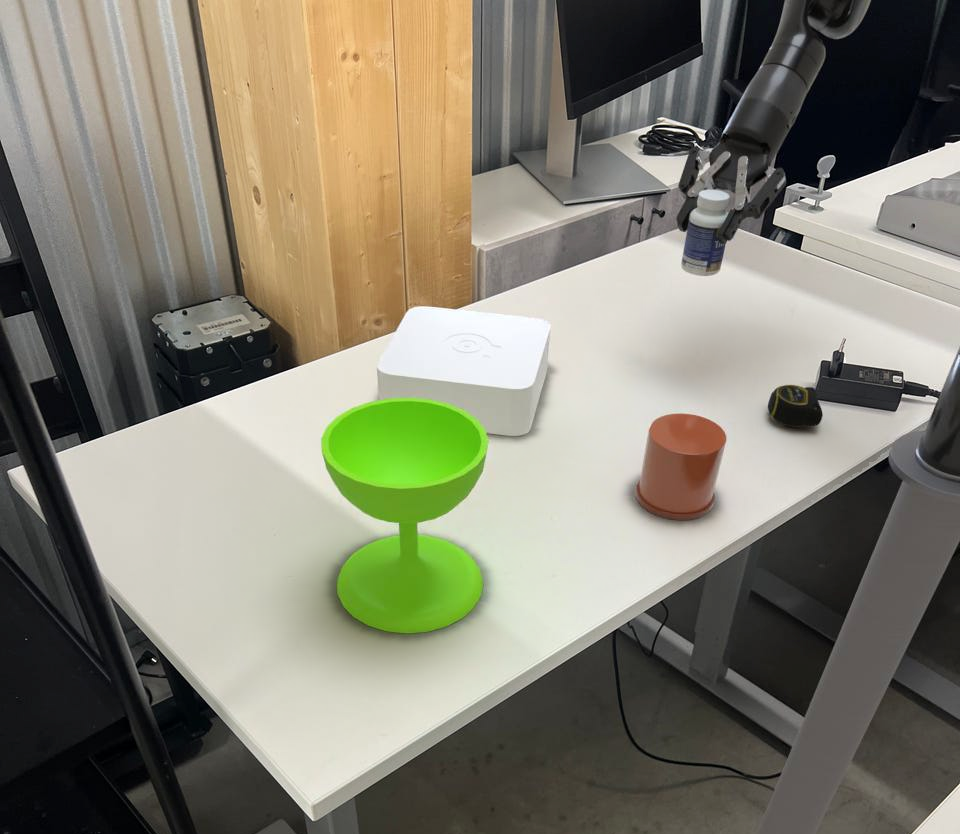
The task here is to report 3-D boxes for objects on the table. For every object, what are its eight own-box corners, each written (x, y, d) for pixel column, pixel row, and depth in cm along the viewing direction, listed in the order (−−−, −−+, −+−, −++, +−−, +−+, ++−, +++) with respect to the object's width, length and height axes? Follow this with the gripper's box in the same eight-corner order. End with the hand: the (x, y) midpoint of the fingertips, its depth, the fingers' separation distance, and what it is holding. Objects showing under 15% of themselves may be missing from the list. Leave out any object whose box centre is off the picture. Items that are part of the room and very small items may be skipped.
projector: (550, 359, 138) (554, 315, 133) (528, 438, 122) (531, 391, 117) (414, 344, 140) (413, 300, 136) (375, 419, 125) (372, 372, 120)
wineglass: (413, 520, 109) (409, 381, 96) (513, 583, 101) (523, 441, 88) (306, 582, 100) (286, 438, 88) (406, 656, 92) (400, 510, 80)
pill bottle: (714, 280, 124) (730, 204, 117) (676, 272, 125) (688, 197, 118) (724, 266, 127) (739, 191, 120) (686, 258, 129) (699, 184, 122)
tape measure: (818, 434, 125) (826, 410, 122) (767, 429, 125) (774, 405, 123) (812, 408, 130) (819, 384, 127) (763, 404, 130) (769, 380, 128)
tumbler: (729, 505, 113) (746, 441, 106) (669, 529, 109) (683, 464, 102) (678, 467, 118) (691, 404, 112) (619, 488, 114) (629, 424, 108)
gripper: (709, 85, 120) (646, 205, 121) (812, 107, 113) (744, 233, 115) (721, 122, 126) (661, 235, 128) (819, 145, 120) (754, 264, 122)
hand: (700, 234), depth 121 cm, fingers closed on pill bottle, 5 cm apart
